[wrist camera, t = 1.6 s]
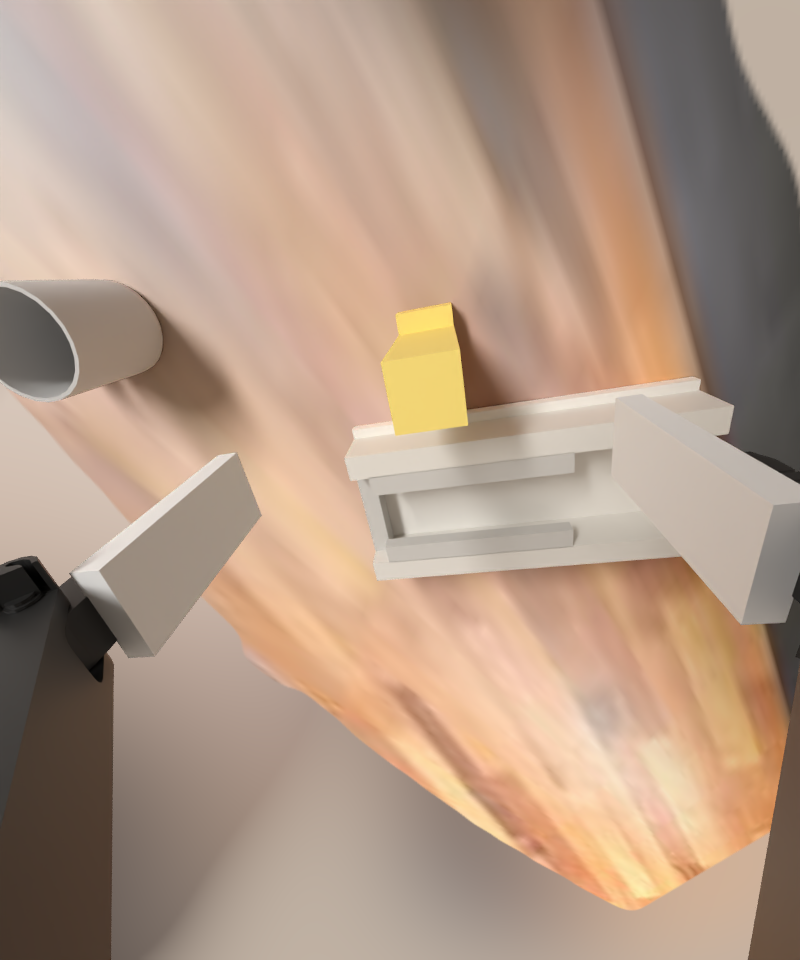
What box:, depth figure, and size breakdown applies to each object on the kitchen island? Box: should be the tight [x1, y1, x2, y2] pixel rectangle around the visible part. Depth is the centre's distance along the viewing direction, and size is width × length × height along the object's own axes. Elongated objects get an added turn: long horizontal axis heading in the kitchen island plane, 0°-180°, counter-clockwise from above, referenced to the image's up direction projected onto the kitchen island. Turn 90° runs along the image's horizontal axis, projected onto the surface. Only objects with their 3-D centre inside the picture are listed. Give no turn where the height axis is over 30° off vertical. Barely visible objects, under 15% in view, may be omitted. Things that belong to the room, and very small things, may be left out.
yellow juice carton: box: [381, 302, 468, 436], centre depth 26 cm, size 7×4×12 cm, turn 11°
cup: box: [0, 279, 163, 402], centre depth 29 cm, size 7×10×9 cm
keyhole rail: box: [344, 377, 734, 581], centre depth 33 cm, size 14×27×5 cm, turn 101°
